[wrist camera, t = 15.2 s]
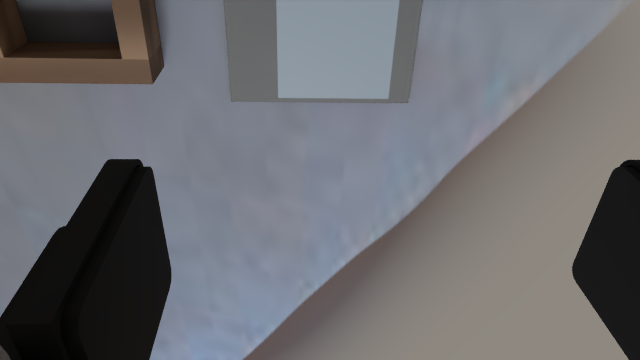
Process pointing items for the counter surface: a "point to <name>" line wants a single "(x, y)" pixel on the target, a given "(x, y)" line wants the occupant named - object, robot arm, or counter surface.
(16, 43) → the pocket holder
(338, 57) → the block
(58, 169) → the counter surface
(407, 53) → the mat
